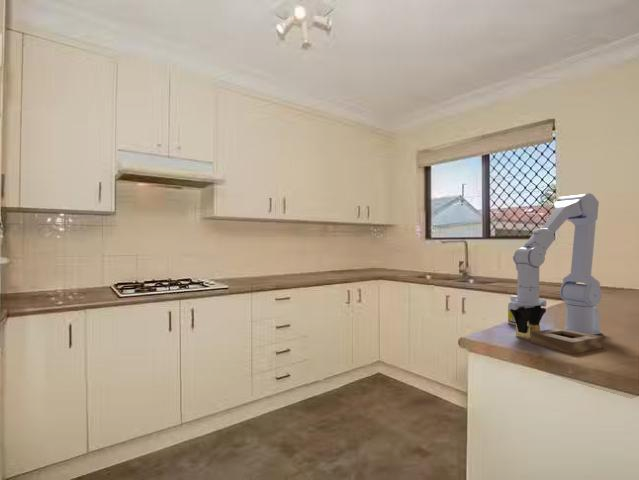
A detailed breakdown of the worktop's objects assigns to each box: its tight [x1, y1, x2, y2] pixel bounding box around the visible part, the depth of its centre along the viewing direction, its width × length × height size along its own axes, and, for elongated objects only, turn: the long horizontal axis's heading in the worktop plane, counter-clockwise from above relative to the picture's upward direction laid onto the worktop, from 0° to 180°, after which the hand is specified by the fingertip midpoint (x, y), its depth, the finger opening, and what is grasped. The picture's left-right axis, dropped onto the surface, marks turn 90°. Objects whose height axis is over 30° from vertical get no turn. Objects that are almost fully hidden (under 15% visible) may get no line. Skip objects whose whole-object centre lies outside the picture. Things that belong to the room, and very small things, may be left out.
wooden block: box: [515, 322, 541, 341], centre depth 108 cm, size 4×4×4 cm
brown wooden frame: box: [530, 327, 604, 355], centre depth 100 cm, size 14×11×3 cm
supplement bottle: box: [507, 294, 517, 326], centre depth 125 cm, size 5×5×10 cm
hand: (527, 331), depth 108 cm, fingers closed on wooden block, 4 cm apart
